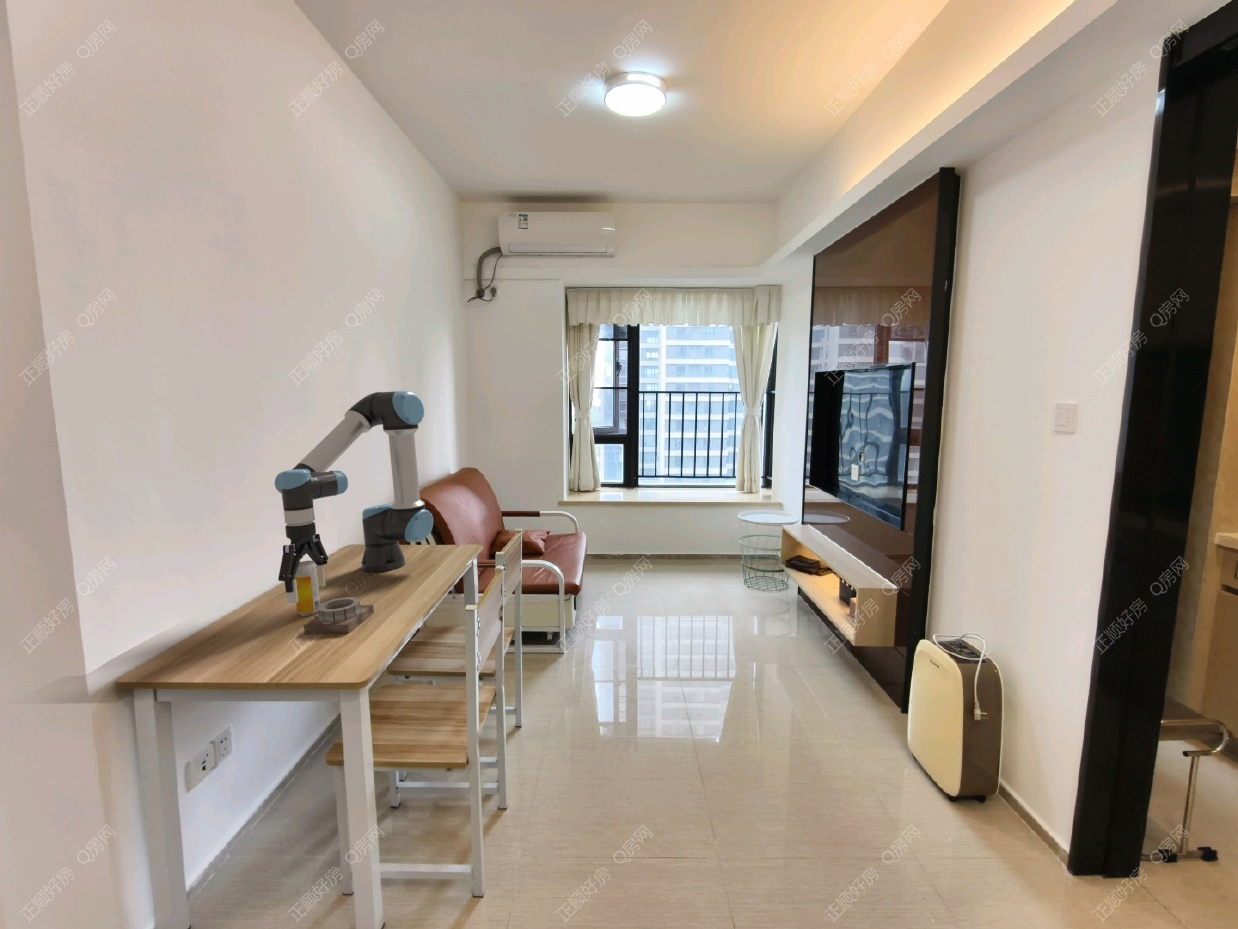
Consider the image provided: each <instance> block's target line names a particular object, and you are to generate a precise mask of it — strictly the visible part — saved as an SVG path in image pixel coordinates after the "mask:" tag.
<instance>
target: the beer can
mask: <svg viewBox="0 0 1238 929" xmlns="http://www.w3.org/2000/svg"><path fill="white" fill-rule="evenodd" d="M294 580H296V583H297V593H298V602H297V603H295V605H296V612H297V614H298V615H299V616H302V617H306V616H307V617H308V616H312V615H315V614H318V610H317V608H318V606H319V605H320V604H321V597H320V587H319V586H318V576H317V565H316V564H315V562H314V561H313V560H303V561H300V562H299V565H298V568H297V571H296V574H295V577H294Z"/></svg>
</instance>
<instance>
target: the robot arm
mask: <svg viewBox="0 0 1238 929" xmlns="http://www.w3.org/2000/svg"><path fill="white" fill-rule="evenodd" d="M423 404H424V403H423V402H422V400H421V398H419V397H418V395H417V394H416V393H414V392H411V391H405V390H398V391H397V390H396V391H378V392H377V391H376V392H373V393H370V394H367V395H366V396H364V397H363V398H361V399H359V400H358V401H357V402H356V403H355V404H353V405H352V406H351V407H350V408H349V409H348V410H347V411H346V412H344V418H343V419H342V420H341V421H340V422H339V423H338V424H337V425H336V426H335V427H334V428H333V429H332V430H331V431H330V432H329V433H328V434H327V435H326V436H325V437H324V438H323V439H322V440H321V441H320V442H319V443H318V444H316V445H315V446H314V447H313V449H312V450H310V451H309V452H308V453H307V454H306V456H304V457H303V458H302V459H301V460H300V461H299V462H298V463H297V464H296V465H295V466H294V467H293V468H292V469H288V470H284V471H281V472H279V473H278V474H277V475H276V477H275V479H274V487H275V489H276V490H277V492H279V493H280V494H281V500H282V501H281V502H282V506H283V516H284V524H286V525H285V526H284V527H285V528H284V529H285V536H286V539H289V540H290V544H283V546H282V556H281V557H282V558H281V562H280V567H279V573H278V577H277V578H278V581H279V582H284V587H285V588H284V589H285V592H286V593H285V594H286V602H287V604H296V603H297V602H298V593H297V583H296V580H294V577H295V574H296V571H297V568H298V565H299V562H301V560H302V559H303V558H304V556H305V555H307V556H308V557H309V558H310V559H311V561H314V562H315V564H316V565H317V576H318V586H319V588H320V587H322V588H323V587H326V586H327V585H326V576H325V565H328V560H329V556H328V555H327V552H326V550H325V547H324V545H323V543H322V540H321V535H320V533H317V531H316V523H315V519H316V518H315V516H316V515H315V508H314V500H319V499H324V498H328V497H333V496H334V497H335V496H338V495H341V494H344V493H345V492H346V491H347V490H348V487H349V481H348V477H347V475H346V474H345V472H343V471H341V470H329V468H330V467H332V465H333V464H334V463H336V461H337V460H338V459H340V457H341V456H342V455H343V454H344V453H345V452H346V451H347V449H349V448H350V446H351V445H353V444H354V442H355V441H356V440H357V439H358V438H359V437H360V436H362V434H363V433H368V432H370V430H371V429H372V428H374V427H377V426H380V425H382V430H383V432H384V433H386V434H387V436H388V443H389V444H388V446H389V454H390V464H391V476H392V485H393V495H394V502H393V503H392V502H391V503H384V504H379V505H373V506H369V507H366V508H364V509H363V511H362V519H361V521H362V528H363V529H362V531H363V539H364V551H363V555H362V558H361V570H362V571H364V572H369V573H370V572H377V573H378V572H385V571H390V570H395V569H398V568H400V567H402V566H404V565H405V564H406V557H405V555H404V552H403V550H402V548H401V546H400V544H399V542H408V543H413V542H414V543H415V542H416V543H418V542H419V543H420V542H422V541H424V540H426V538H428V537H429V535H430V533H432V530H433V526H434V517H433V514H432V513H431V512H430V511H429V510H427V509H426V504H425V501H424V500H422V499H421V497H420V485H419V474H418V471H419V470H418V462H417V460H418V459H417V451H416V450H417V449H416V440H415V439H416V437H415V433H416V432H417V431H418V430H419V424H420V423H421V422H422V421H423V418H424V416H425V409H424V408H425V407H424V405H423ZM327 470H329V471H327Z"/></svg>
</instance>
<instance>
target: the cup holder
mask: <svg viewBox="0 0 1238 929" xmlns="http://www.w3.org/2000/svg"><path fill="white" fill-rule="evenodd" d="M317 610H318V612H317V616H315V617H314V618H312V619H310V620H309V621H307V622H306V623H305V624H303V632H304V635H315V634H316V635H326V634H332V635H337V634H342V635H343V634H348V635H349V633H351V632H353V631H354V630H355V629H356V628H357V627H358V626H359V625H361V624H362V623H363V622H365V621H366V620H367V619H368V618H370V617H371V616H373V614H374V604H361V600H360V598H357V597H355V596H354V597H353V596H348V597H347V596H346V597H339V598H333V599H329V600H327V601H325V602H322V603H320V605H319V606H318V608H317Z"/></svg>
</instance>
